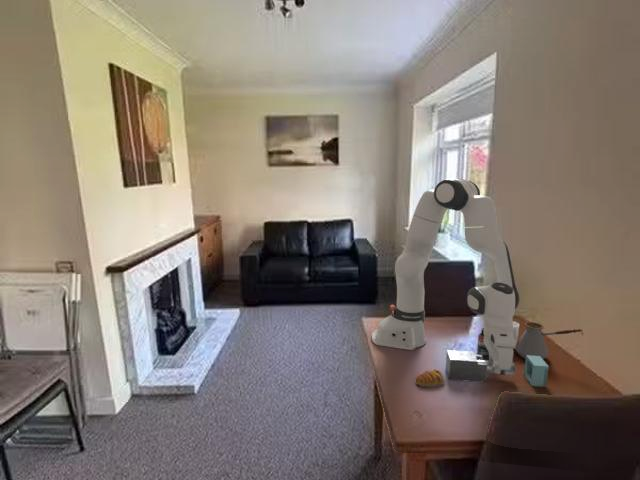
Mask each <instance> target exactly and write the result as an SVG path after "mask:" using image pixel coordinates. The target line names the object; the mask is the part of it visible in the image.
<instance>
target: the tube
mask: <svg viewBox="0 0 640 480" xmlns="http://www.w3.org/2000/svg"><path fill="white" fill-rule="evenodd" d="M478 363H486V364H487V373H486V374H488V373H490V374H491V373H492V374H496V373H495V372H494V367H495V362H494V361H489V360H483V359H482V360H478ZM515 373H516V366H515V363H514V361H512V365H511V368H510V369H509V370H501V371H500V374H499V376H502V377H503V376H505V375H515Z"/></svg>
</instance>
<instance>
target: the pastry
mask: <svg viewBox="0 0 640 480" xmlns="http://www.w3.org/2000/svg"><path fill="white" fill-rule="evenodd" d="M415 384H417V385H418V386H420V387H424V388H425V386H427V387H428V388H429V386H430V388H433V387H437V386H436V385H439V386H442V385H444V384H445V378H444V376H443V373H442V372H441V371H440V369H431V370H426V371H424V372H423V373H421V374H419V375H418V376H416V377H415ZM441 384H442V385H441ZM427 387H426V388H427Z"/></svg>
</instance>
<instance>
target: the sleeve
mask: <svg viewBox="0 0 640 480" xmlns="http://www.w3.org/2000/svg"><path fill="white" fill-rule="evenodd" d="M482 358H483V356H482V355H477V354H475V353H474V351H469V350H468V351H467V350H451V349H447V350H446V357H445V372H446V375H447V377H448V380H449V379H450V380H451V381H462V380H469V381H468V382H475V381H483V382H482V383H486V382H487V381H486V380H487V374H488V373H487V364H486V363H478V360H483V359H482ZM450 380H449V381H450Z"/></svg>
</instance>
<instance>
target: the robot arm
mask: <svg viewBox="0 0 640 480" xmlns="http://www.w3.org/2000/svg"><path fill="white" fill-rule="evenodd" d="M448 210H452V211H456V212H458V211H460V212H461V213H462V215H463V218H464V219H463V220H464V222H463V223H464V239H465V242H466V243H467V245H468V246H469V247H470V249H472V250H474V251H476V252H477V253H481V254H483V255H485V256H487V257H489V258H490V259H491V260H492V262H493V264H494V269H495V273H496V278H497V279H496V280H497V281H496V282H492V283H490V284H488V285H483V286H474V287H471V288H470V289H469V290H468V292H467V294H466V305H467V307H468V308H469V310H470V311H472V313H474V314H477V315H480V316H484V317H485V318H484V326H483V328H484V339H483V341H484V345H485V346H486V348H487V350H488V352H489V359H490V360H488V361H494V362H495V367H494V372H495V373H494V374H498V375H500V371H501V370H509V369H510V368H511V365H512V362H513V359H514V350H513V347H515V346H516V343H517V342H516V341H515V338H514V335H513V321H514V320H513V319H514V318H513V317H514V315H515V312H516V311H515V310H516V309H517V307H518V306H519V304H520V295H519V291H518V289H517V286H516V282H515V277H514V272H513V266H512V261H511V260H512V259H511V255H510V252H509V251H510V250H509V249H508V247H509V246H508V245H507V244H506V242H505V241H504V240H502V237H501V235H500V232H499V223H498V214H497V208H496V203H495V200H493V199H492V198H491V197H490V196H486V195H482V194H481V192H480V188H479V186H478V185H477V184H476V183H475V182H473V181H471V180H467V179H463V178H445V179H443V180H441V181H439V182H438V183H437V184H436V185H435V187H434V189H429V190H426V191H424V192H423V193H422V195H421V196H420V198H419V200H418V202H417V204H416V207H415V210H414V212H413V216H412V218H411V221H410V225H409V228H408V231H407V236H406V240H405V244H404V248H403V251H402V252H401V254H400V255H399V256H398V257H397V259H396V260H395V263H394V264H395V265H394V271H395V280H396V281H395V282H396V306H395V305H394V304H391V305H389V309H390V312H391V314H390V315H388V316H386V317H385V318H383V319H381V320H380V321H379V324H378V325H377V329H375V330H374V331H372V334H371V341H372V342H373V343H374V345H376V346H381V347H388V348H393V349H394V348H395V349H401V350H408V351H412V350H415V349H416V348H420V347H423V346H424V345H426V343H427V340H426V336H425V326H424V323H425V318H426V317H425V316H426V310H425V293H426V292H425V280H424V277H425V276H424V275H425V270H426V268H427V266H428V264H429V261H430V257H431V255H432V252H433V248H434V246H435V241H436V239H437V236H438V233H439V231H440V228H441V224H442V222H443V219H444V215H445V214H446V212H447V211H448Z"/></svg>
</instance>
